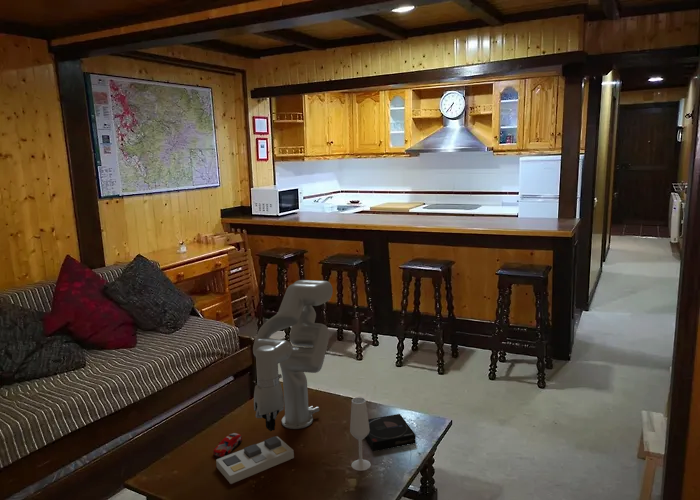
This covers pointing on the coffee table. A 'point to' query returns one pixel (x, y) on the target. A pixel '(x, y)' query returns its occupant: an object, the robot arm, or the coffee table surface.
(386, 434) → the portable cd player
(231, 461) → the button
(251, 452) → the button mid
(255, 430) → the coffee table surface
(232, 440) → the race car
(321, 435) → the coffee table surface
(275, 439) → the button
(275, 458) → the button board
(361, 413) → the champagne flute
